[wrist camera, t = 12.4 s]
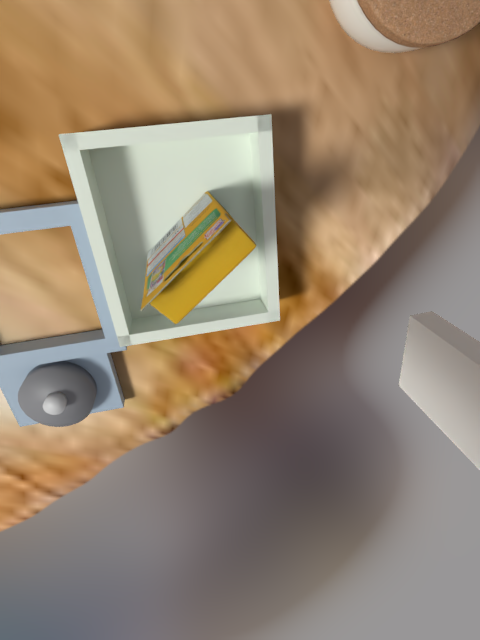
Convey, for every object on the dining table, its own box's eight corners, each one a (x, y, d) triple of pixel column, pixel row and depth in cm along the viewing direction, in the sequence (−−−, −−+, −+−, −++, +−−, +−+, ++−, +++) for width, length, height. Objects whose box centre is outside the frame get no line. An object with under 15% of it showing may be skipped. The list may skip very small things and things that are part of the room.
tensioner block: (-103, 221, 27) (-142, 232, 23) (90, 198, 28) (80, 206, 25) (3, 422, 36) (-14, 451, 32) (144, 396, 38) (141, 421, 34)
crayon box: (173, 276, 31) (176, 341, 21) (146, 253, 30) (135, 311, 20) (232, 216, 30) (266, 255, 20) (207, 189, 29) (229, 216, 18)
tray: (73, 135, 26) (58, 134, 23) (258, 117, 28) (271, 114, 24) (124, 325, 34) (119, 347, 30) (268, 302, 35) (280, 320, 32)
